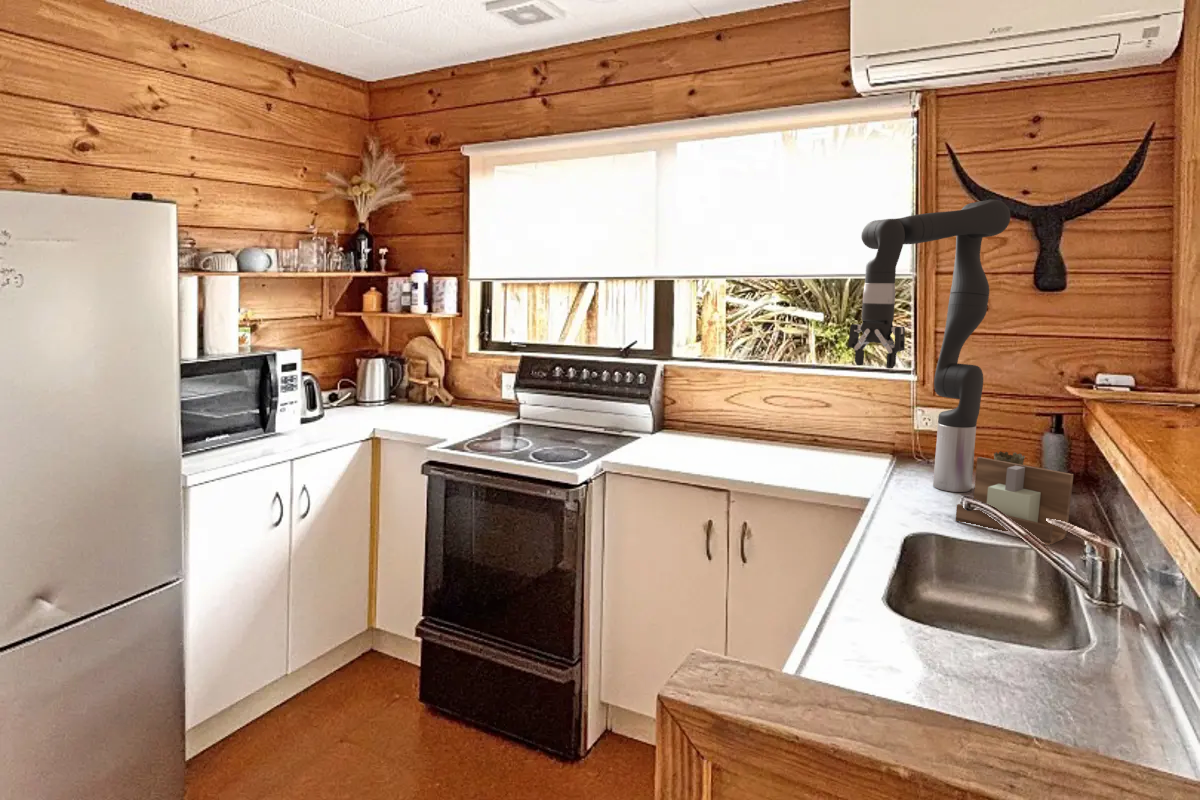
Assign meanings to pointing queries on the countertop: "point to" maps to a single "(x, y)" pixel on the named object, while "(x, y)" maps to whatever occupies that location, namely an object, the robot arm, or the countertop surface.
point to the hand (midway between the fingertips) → (874, 366)
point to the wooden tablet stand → (1036, 479)
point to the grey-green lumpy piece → (1009, 457)
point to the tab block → (1015, 496)
